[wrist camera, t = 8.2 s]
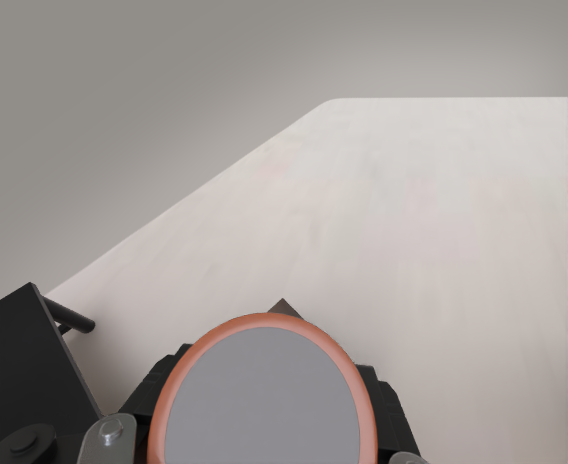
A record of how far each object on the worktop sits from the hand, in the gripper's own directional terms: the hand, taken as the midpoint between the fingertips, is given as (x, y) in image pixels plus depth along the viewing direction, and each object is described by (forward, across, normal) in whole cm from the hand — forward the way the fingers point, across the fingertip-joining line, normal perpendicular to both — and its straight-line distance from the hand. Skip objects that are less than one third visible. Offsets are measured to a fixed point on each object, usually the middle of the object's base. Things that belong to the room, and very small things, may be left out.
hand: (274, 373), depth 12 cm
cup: (+3, 0, +5) cm, 6 cm away
